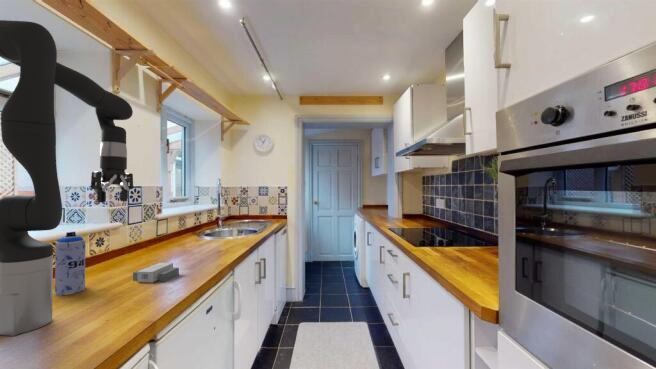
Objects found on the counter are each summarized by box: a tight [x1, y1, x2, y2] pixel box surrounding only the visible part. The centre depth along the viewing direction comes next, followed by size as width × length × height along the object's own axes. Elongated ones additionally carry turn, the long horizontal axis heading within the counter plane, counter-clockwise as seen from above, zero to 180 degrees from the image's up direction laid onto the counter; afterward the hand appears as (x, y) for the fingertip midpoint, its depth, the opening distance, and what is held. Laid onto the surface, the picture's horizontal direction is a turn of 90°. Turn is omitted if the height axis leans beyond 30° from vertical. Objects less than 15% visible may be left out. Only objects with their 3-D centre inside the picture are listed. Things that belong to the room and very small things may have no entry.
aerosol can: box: [53, 231, 87, 296], centre depth 93 cm, size 8×8×20 cm
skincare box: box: [137, 262, 174, 284], centre depth 106 cm, size 6×4×12 cm
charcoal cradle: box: [132, 265, 180, 283], centre depth 106 cm, size 8×13×3 cm, turn 83°
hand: (113, 201), depth 97 cm, fingers open, 8 cm apart
